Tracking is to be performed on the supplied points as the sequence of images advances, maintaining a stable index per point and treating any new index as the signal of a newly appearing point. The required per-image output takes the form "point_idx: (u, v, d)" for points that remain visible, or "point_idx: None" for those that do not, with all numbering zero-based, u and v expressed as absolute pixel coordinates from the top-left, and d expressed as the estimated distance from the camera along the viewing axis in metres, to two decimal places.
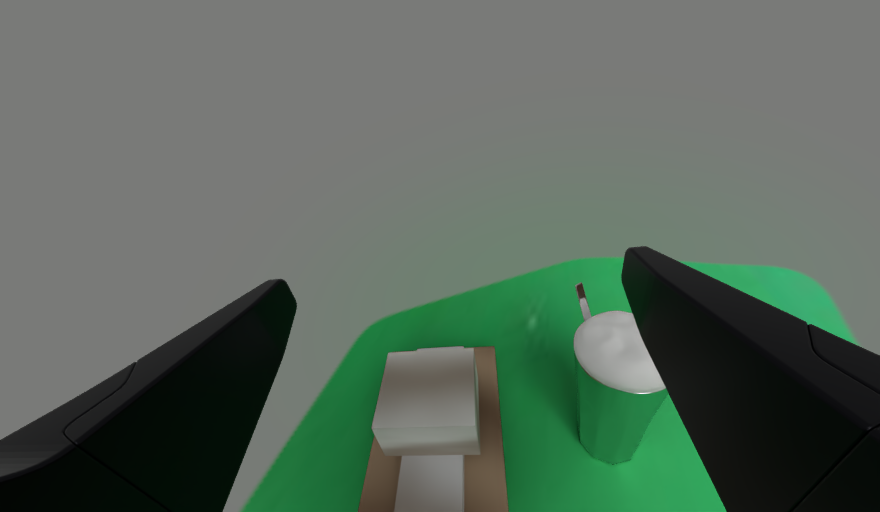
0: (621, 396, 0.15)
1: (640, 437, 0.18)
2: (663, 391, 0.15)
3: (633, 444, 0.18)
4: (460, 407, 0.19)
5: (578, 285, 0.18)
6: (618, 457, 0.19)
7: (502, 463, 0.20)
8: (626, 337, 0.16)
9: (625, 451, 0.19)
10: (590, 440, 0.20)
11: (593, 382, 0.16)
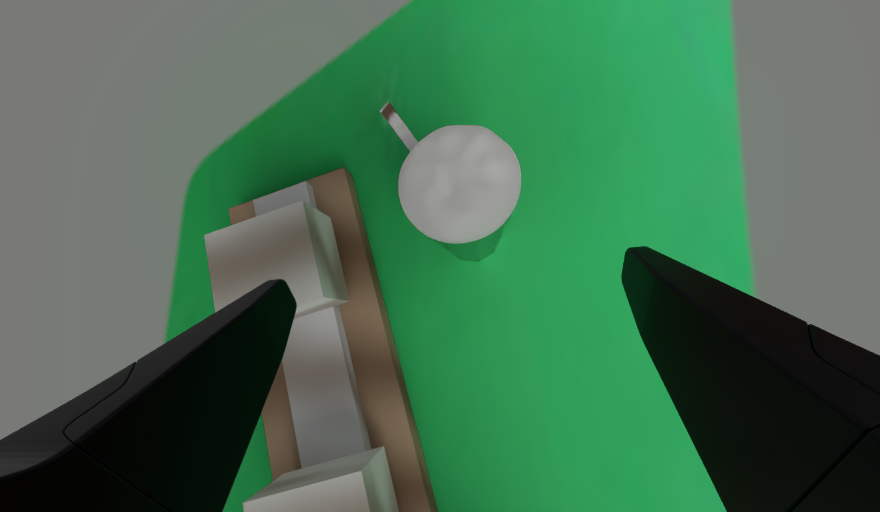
0: (456, 244, 0.13)
1: (494, 245, 0.17)
2: (498, 228, 0.13)
3: (490, 249, 0.18)
4: (304, 280, 0.16)
5: (385, 108, 0.12)
6: (480, 257, 0.19)
7: (375, 297, 0.20)
8: (453, 177, 0.12)
9: (485, 254, 0.19)
10: None
11: None
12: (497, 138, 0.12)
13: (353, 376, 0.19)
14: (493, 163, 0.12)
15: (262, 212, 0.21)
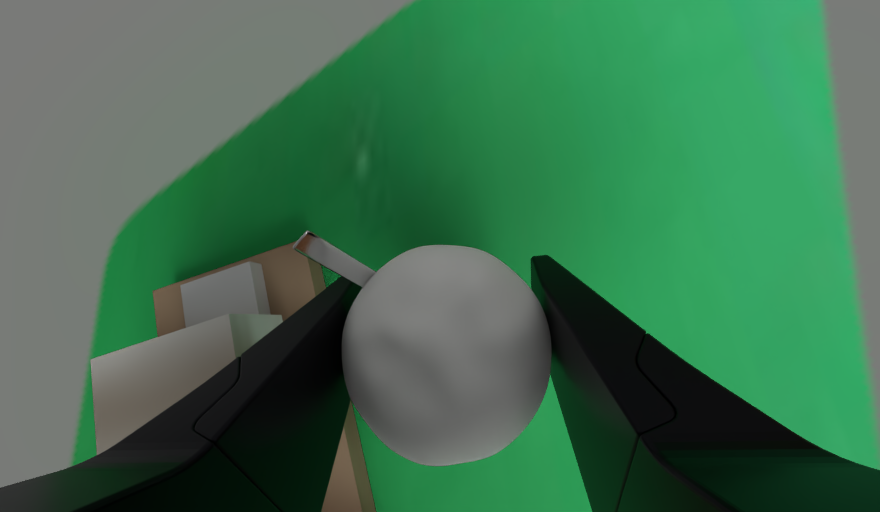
0: None
1: None
2: None
3: None
4: None
5: (302, 242, 0.06)
6: None
7: None
8: (427, 364, 0.07)
9: None
10: None
11: None
12: (508, 281, 0.07)
13: None
14: (501, 341, 0.06)
15: (192, 303, 0.16)
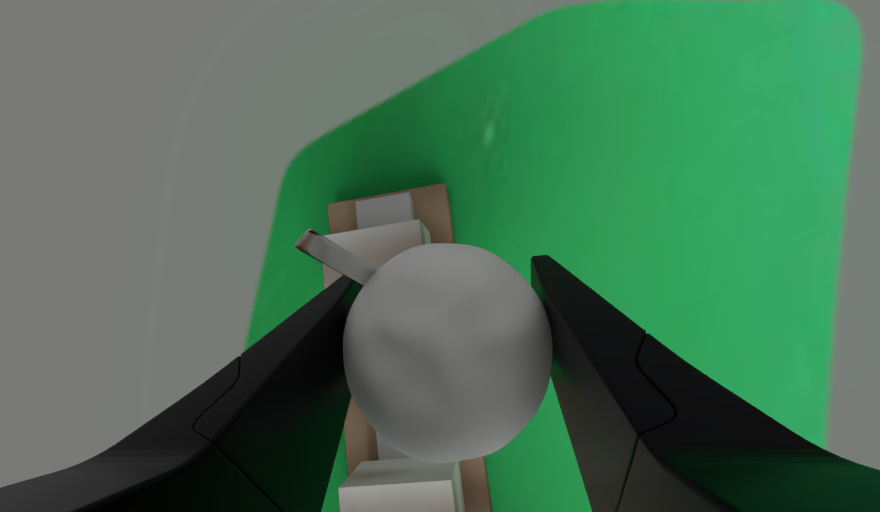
0: None
1: None
2: None
3: None
4: None
5: (303, 240, 0.06)
6: None
7: None
8: (429, 362, 0.07)
9: None
10: None
11: None
12: (510, 279, 0.07)
13: None
14: (503, 340, 0.06)
15: (363, 215, 0.22)
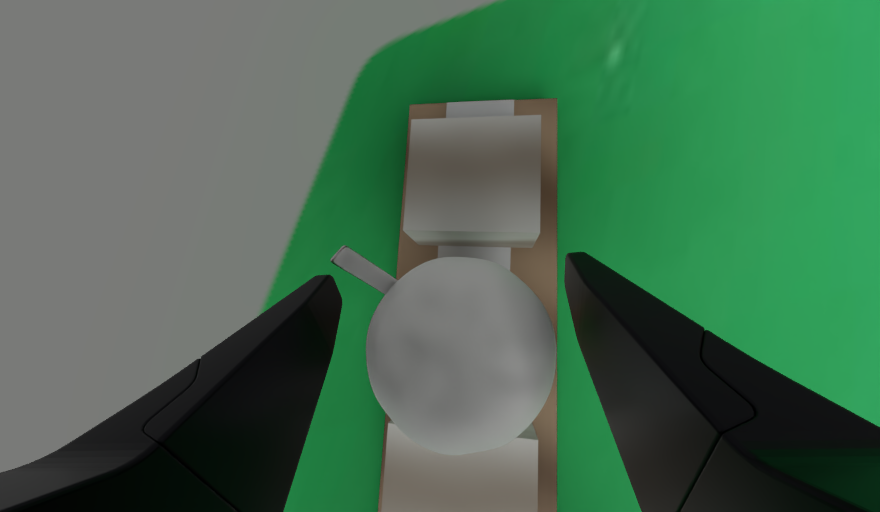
0: None
1: None
2: None
3: None
4: (521, 206, 0.14)
5: (338, 255, 0.07)
6: None
7: (554, 254, 0.17)
8: (448, 365, 0.07)
9: None
10: None
11: None
12: (520, 291, 0.08)
13: None
14: (515, 345, 0.07)
15: None
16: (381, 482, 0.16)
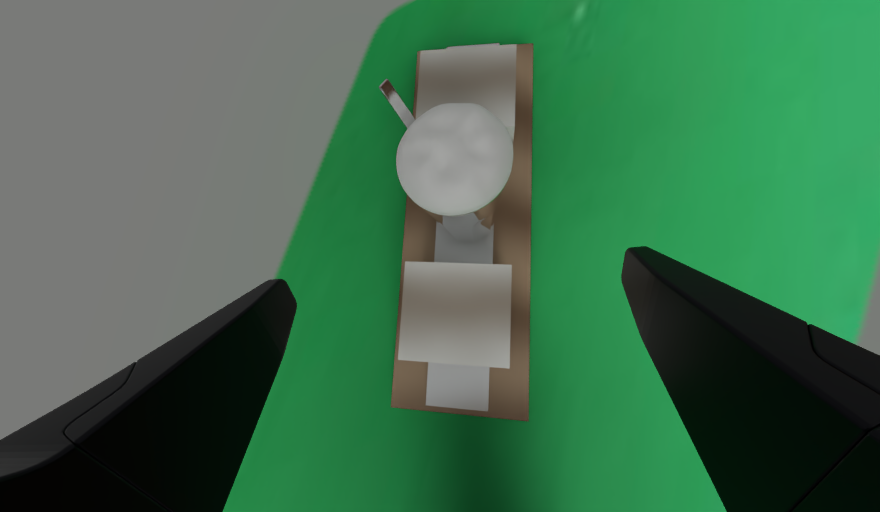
0: (451, 217, 0.14)
1: (489, 224, 0.18)
2: (491, 202, 0.13)
3: (485, 228, 0.19)
4: (501, 109, 0.19)
5: (383, 85, 0.12)
6: (477, 238, 0.20)
7: (530, 159, 0.22)
8: (447, 151, 0.13)
9: (480, 234, 0.19)
10: (449, 232, 0.20)
11: (422, 208, 0.14)
12: (490, 115, 0.13)
13: None
14: (486, 137, 0.12)
15: None
16: (397, 331, 0.22)
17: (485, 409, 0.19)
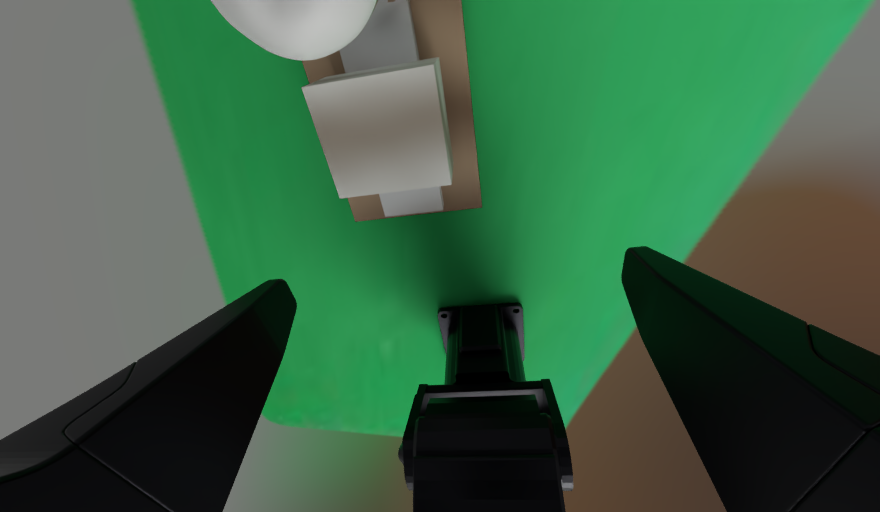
0: None
1: (392, 4, 0.13)
2: (370, 18, 0.09)
3: (390, 8, 0.13)
4: None
5: None
6: (384, 18, 0.14)
7: None
8: None
9: (387, 14, 0.14)
10: None
11: None
12: None
13: None
14: None
15: None
16: None
17: (440, 209, 0.20)
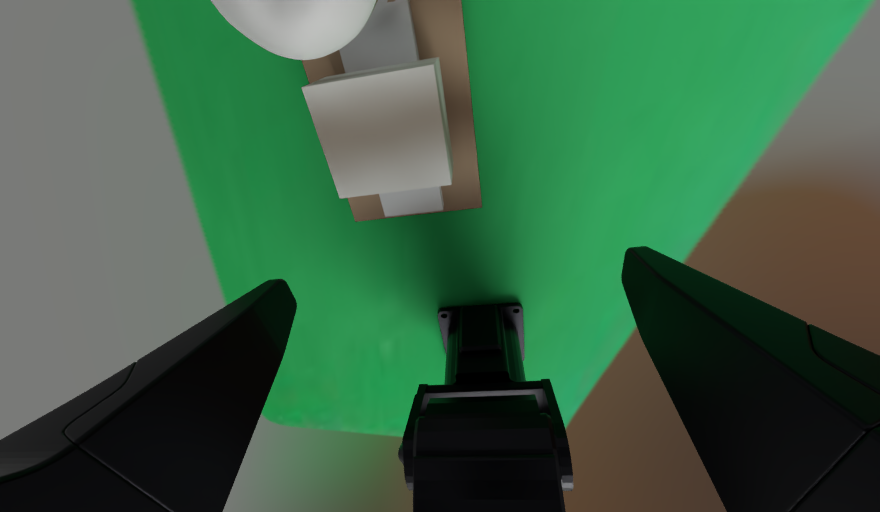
0: None
1: (392, 4, 0.13)
2: (370, 17, 0.09)
3: (390, 8, 0.13)
4: None
5: None
6: (384, 18, 0.14)
7: None
8: None
9: (386, 14, 0.14)
10: None
11: None
12: None
13: None
14: None
15: None
16: None
17: (440, 209, 0.20)
